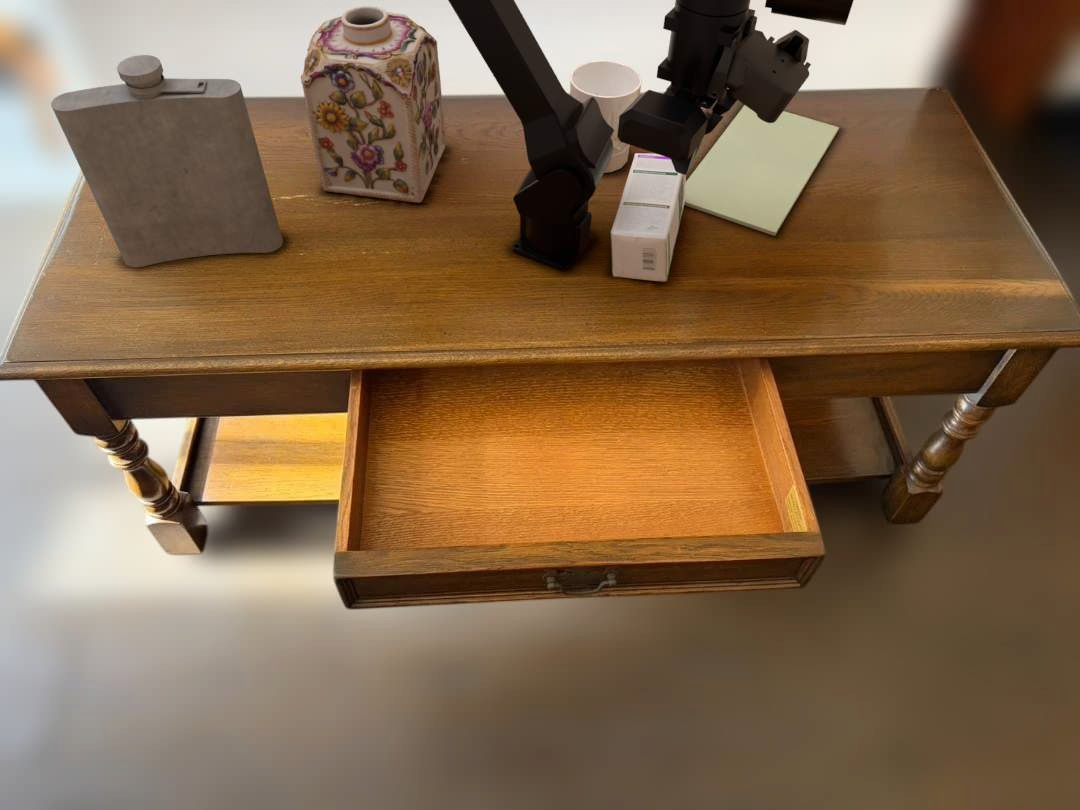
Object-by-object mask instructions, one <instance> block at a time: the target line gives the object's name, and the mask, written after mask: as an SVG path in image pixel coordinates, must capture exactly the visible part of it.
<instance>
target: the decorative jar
mask: <svg viewBox="0 0 1080 810" xmlns="http://www.w3.org/2000/svg"><path fill="white" fill-rule="evenodd" d="M306 54H307V55H306V57H305V58H304V65H303V72H302V74H301V75H300V79H301V81H300V82H301V85H302V92H303V95H304V101H305V102H304V103H305V107H306V113H307V119H308V123H309V129H310V135H311V139H312V144H313V149H314V153H315V158H316V163H317V166H318V171H319V176H320V179H321V185H322V189H323V190H324V191H325V192H330V193H337V194H347V195H353V196H362V197H370V198H376V199H377V198H378V199H384V200H392V201H400V202H408V203H415V204H416V203H417V204H420V203H422V202H423V200H424V198H425V196H426V193H427V191H428V189H429V187H430V184H431V182H432V179H433V177H434V175H435V173H436V170H437V168H438V165H439V163H440V160H441V158H442V156H443V153H444V151H445V149H446V129H445V118H444V117H445V116H444V106H443V95H442V83H441V72H440V62H439V50H438V40H436V38H435V37H434V36H433V35H431V34H430V32H428V31H427V30H426V29H425V27H423V26H421V25H419V24H418V23H416V22H415V21H414V20H412V19H411V18H410V17H409V16H407V15H406V14H403V13H398V12H389V11H387V10H386V9H384V8H382V7H379V6H374V5H362V6H356V7H353V8H349V9H348V10H346V11H345V12H343V13H342V15H340V16H338V17H335V18H331V19H329V20H325V21H324V22H322V24H321V25H320V26H319V27H318V28H317V29H316V30H315V32H314V33H313V34H312V35H311V38H310V40H309V44H308V48H307V53H306Z"/></svg>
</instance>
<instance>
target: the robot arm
mask: <svg viewBox="0 0 1080 810" xmlns="http://www.w3.org/2000/svg"><path fill="white" fill-rule="evenodd" d="M447 1H448V3H449V4H450V6H451V8H452V10H453V11H454V13H455V15H456V16H457V18H458V19H459V21H460V23H461V24H462V26H463V28H464V29H465V31H466V32H467V34H468V36H469V38H470V39H471V41H472V42H473V45H474V47H476V49H477V51H478V53H479V54H480V56H481V58H482V59H483V61H484V62H485V64H486V66H487V67H488V69H489V71H490V72H491V74H492V76H493V77H494V79H495V80H496V82H497V84H498V86H499V87H500V89H501V90H502V92H503V94H504V96H505V97H506V99H507V100H508V103H509V104H510V106H511V107H512V109H513V111H514V113H515V114H516V116H517V117H518V119H519V121H520V123H521V125H522V130H523V136H524V143H525V149H526V156H527V161H528V164H529V166H530V169H529V170H528V172H527V174H526V176H525V177H524V179H523V180H522V182H521V184H520V185H519V187H518V189H517V191H516V192H515V194H514V196H513V198H512V199H513V202H514V205H515V207H516V210H517V213H518V215H519V238H518V239H516V241H515V242H514V243H513V244H512V246H511V249H512V252H514V253H516V254H519V255H521V256H524V257H527V258H529V259H532V260H535V261H537V262H539V263H542V264H545V265H547V266H549V267H553V268H555V269H557V270H560V271H566V270H568V269H569V267H570V266H571V265H572V264H573V263H574V261H575V260H577V258H579V257H580V256H581V255H582V254H583V253H584V251H585V250H586V249H587V248H588V246H589V245H590V242H591V241H592V239H593V233H592V232H591V228H592V217H593V214H592V213H591V212H590V211H589V200H590V199H591V198H592V197H593V196H594V194H595V193H596V190H597V188H598V186H599V184H600V182H601V180H602V178H603V176H604V174H605V173H604V172H605V170H606V168H607V166H608V164H609V162H610V159H611V156H612V152H613V142H612V139H611V136H612V134H613V132H614V129H613V128H612V127H611V126H610V125H609V124H607V122H606V121H605V119H604V118H603V116H602V113H601V111H600V108H599V105H598V102H597V101H596V99H595V98H594V97H591V98H589V99H588V100H586V101H585V102H583V103H581V102H580V101H578V100H577V99H575V98H573V97H572V96H570V93H568V92H567V91H566V90H565V89H564V87H563V86H562V83H561V82H560V79H559V78H558V76H557V74H556V73H555V71H554V69H553V68H552V66H551V63H550V62H549V60H548V58H547V57H546V55H545V53H544V51H543V49H542V48H541V46H540V44H539V42H538V41H537V38H536V37H535V35H534V33H533V32H532V29H531V27H530V26H529V24H528V23H527V21H526V19H525V17H524V15H523V14H522V12H521V10H520V8H519V7H518V5H517V3H516V1H515V0H447ZM853 4H854V0H765V4H764V8H767V9H770V13H771V14H774V15H781V16H787V17H792V18H799V19H804V20H810V21H817V22H822V23H828V24H834V25H841V26H846V24H847V22H848V19H849V16H850V13H851V10H852V7H853ZM750 5H751V0H675V1H674V7H673V8H672V9H670V11H668V12H667V13H666V14H665V15H664V21H663V27H662V29H663V30H666V31H670V38H669V45H668V51H667V56H666V57H665V59H663V60H662V61H661V62H660V63H659V64H658V65H657V71H656V79H660V80H663V81H666V82H667V81H668V82H670V85H668V86H667V88H666V90H665V91H664V92H663V93H661V92H658V91H655V90H652V89H648V90H646V91H645V92H643V93H641V94H640V96H638V97H637V98H636V99H635V100H634V101H633V102H632V103H631V104H630V105H629V106H628V108H627V109H626V110H625V111H624V112H623V113H622V114H621V115H620V116H619V125H618V135H617V137H618V138H619V140H620V142H623V143H626V144H629V145H630V146H632V147H635V148H638V149H641V150H644V151H647V152H649V153H656V154H659V155H662V156H665V157H668V158H671V161H672V163H673V166H674V169H675V171H676V172H677V173H680V174H683V175H686V176H687V174H688V173H689V172H690V170H691V168H692V167H693V164H694V163H695V159H696V158H697V156H698V154H699V151H700V149H701V148H702V145H703V143H704V141H705V139H706V137H707V135H709V134H711V133H712V132H714V130H715V129H716V128H717V126H718V125H719V124H720V123H721V121H723V119H724V116H723V115H724V114H726V113H727V112H729V111H730V110H731V109H732V108H733V107H734V105H735V104H736V103H737V101H738V102H740V103H741V104H743V106H744V105H745V106H747V107H748V108H750V109H751V110H752V111H754V112H755V113H756V114H757V117H758V118H760V119H761V120H763V121H764V122H767V123H774V122H775V121H776V120H777V119H778V118H779V116H780V115H781V113H782V112H783V111H785V109H786V108H787V107H788V106H789V104H790V103H791V102H792V100H793V99H794V98H795V96H796V95H797V93H798V92H799V91H800V89H801V88H802V86H803V85H804V84H805V82H806V81H807V80H808V79H809V77H810V71H809V68H810V67H811V65H812V64H811V63H810V62H808V61H807V57H808V51H809V46H810V45H809V44H810V39H809V38H808V37H807V36H806V35H804V34H803V33H802V32H800V31H799V30H797V29H794V30H792V31H790V32H788V33H787V34H785V35H783V36H782V37H780V38H778V39H777V40H776V41H775V39H776V38H775V37H774V36H772V35H770V36H769V38H768V39H767V37H766V36H765V33H764V32H763V31H762V30H757V29H756V27H757V22H758V16H756V15H755V14H756V10H755V9H753V8H750ZM774 41H775V42H774Z"/></svg>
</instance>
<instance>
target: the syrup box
mask: <svg viewBox="0 0 1080 810" xmlns="http://www.w3.org/2000/svg"><path fill="white" fill-rule="evenodd" d="M686 181H687V174H686V175H683V174H680V173H677V172H676V171H675V169H674V166H673V163H672V161H671V158H668V157H665V156H662V155H659V154H656V153H653V152H649V153H648V152H645V153H644V152H642V153H638V152H635V153H634V156H633V160H632V163H631V166H630V169H629V172H628V175H627V178H626V181H625V184H624V187H623V191H622V194H621V197H620V201H619V204H618V207H617V209H616V213H615V216H614V220H613V223H612V227H611V229H610V248H611V249H610V251H611V274H612V276H613V277H616V278H617V277H618V278H624V279H625V278H626V279H632V280H643V281H654V282H663V283H664V282H667V281H668V278H669V274H670V270H671V265H672V260H673V256H674V252H675V247H676V243H677V238H678V234H679V231H680V225H681V221H682V216H683V212H684V208H685V207H684V206H685V205H684V204H685V187H686Z"/></svg>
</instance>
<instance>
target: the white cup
mask: <svg viewBox="0 0 1080 810" xmlns="http://www.w3.org/2000/svg"><path fill="white" fill-rule="evenodd" d="M642 83H643V79H642V76H641V74H640V72H639V71H638V70H637V69H635V68H634V67H632V66H631V65H628V64H626V63H623V62H619V61H616V60H615V61H614V60H606V59H605V60H603V59H602V60H600V59H599V60H592V61H588V62H584V63H581V64H579V65H578V66H576V67H575V68H573V69H572V70H571V73H570V76H569V95H570V96H572V97H573V98H575V99H577V100H578V101H580V102H581V103H583V102H585V101H586V100H588V99H589V98H591V97H594V98H595V99H596V101H597V102H598V105H599V108H600V111H601V113H602V116H603V118H604V119H605V121H606V122H607V124H609V125H610V126H611V127H612V128H613V129H614V132H613V134H612V136H611V139H612V142H613V152H612V156H611V159H610V162H609V164H608V166H607V168H606V170H605V172H604V174H608V173H614V172H615V171H618V170H620V169H622V168H623V167H624V166H625V165H626V164H627V163H628V159H629V154H630V147H631V145H629V144H626V143H623V142H620V140H619V138H618V137H617V135H618V125H619V116H620V115H621V114H622V113H623V112H624V111H625V110H626V109H627V108H628V106H629V105H630V104H631V103H632V102H633V101H634V100H635V99H636V98H637V97H638V96H640V95H641V90H642V85H643V84H642Z"/></svg>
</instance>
